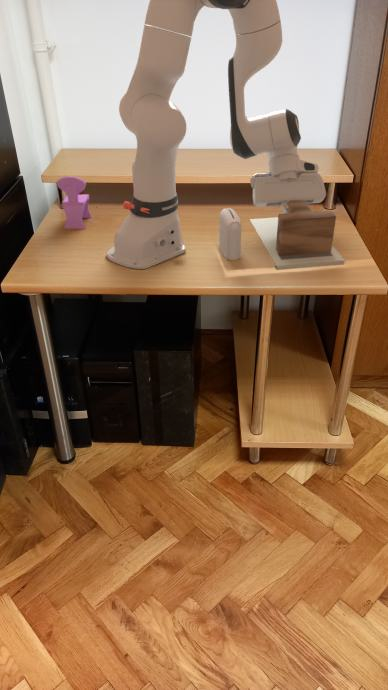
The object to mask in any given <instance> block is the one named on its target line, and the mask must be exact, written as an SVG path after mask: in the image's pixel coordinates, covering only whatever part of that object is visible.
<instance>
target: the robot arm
mask: <svg viewBox="0 0 388 690" xmlns="http://www.w3.org/2000/svg"><path fill="white" fill-rule="evenodd" d="M204 7H206V8H209V9H210V8H211V9H221V10H228V12H229V14H230V16H231V19H232V22H233V23H232V24H233V29H234V33H235V49H234V52H233V54H232V55H231V56H230V57H229V59H228V63H227V65H228V66H227V77H228V78H227V79H228V97H229V98H228V99H229V101H228V102H229V115H230V128H229V129H230V130H229V141H230V142H229V143H230V146H231V150H232V151H233V154H234V155H236V156H238V157H240V158H242V159H245V160H246V159H247V160H248V159H250V158H252V157H256V156H258V155H261V154H264V153H267V156H268V163H267V164H268V165H267V166H268V170H269V171H268V172H264V173H263V172H262V173H254V174H253V175H252V176H251V177H250V179H249V182H250V187H251V189H252V203H253V205H254V206H255V207H256V208H263V207H264V208H265V207H275V206H276V207H278V206H280V209H281V211H282V212H283V214H286V213H287V211H288V201H299V200H303V201H304V202H305V204H306V205H307V204H319V203H322V202H323V201H324V200H325V198H326V196H327V192H326V186H325V182H324V180H323V177H322V175H321V174H320V173H318V172H319V170H320V169H319V165H318V164H317V163H313V162H310V161H307V160H306V161H305V160H303V159H301V158H300V155H299V153H298V146H299V143H300V142H301V140H302V137H301V134H300V125H299V117H298V116H297V114H296V113H294V111H291V110H289V109H287V108H286V109H279V110H274V111H271V112H268V113H265V114H260V115H257V116H253V117H248V116H246V107H245V86H246V84H247V83H248V81H249V80H251V78H252V77H254V76H255V75H256V74H257V73H259V72H260V71H261V70H263V69H264V68H266V67H267V66H268V65H269V64H270V63H271V62H272V61H273V60H274V59H275V58H276V56H277V55H278V54H279V52H280V50H281V48H282V45H283V29H282V21H281V17H280V10H279V6H278V2H277V0H149V3H148V6H147V11H146V13H145V14H146V15H145V20H144V25H143V31H142V35H141V42H140V47H139V53H138V58H137V62H136V65H135V68H134V71H133V75H132V77H131V80H130V82H129V85H128V87H127V91H126V93H125V94H123V96H122V97H121V99H120V101H119V107H118V112H119V116H120V118H121V121H122V123H123V125H124V126H125V128H126V129H127V130H128V131H129V132H131V134H133V135H134V136H135V139H136V154H135V158H134V162H133V164H132V167H131V171H132V183H133V184H132V185H133V194H132V198H131V201H127V200H124V202H123V204H122V207H123V209H125V210H127V211H128V210H129V213H128V215H127V216H126V217H125V219H124V221H123V222H122V224H121V225H120V226H119V228H118V229H117V231H116V232H115V234H114V244H113V246H112V247H111V248H110V249H108V250H107V251H106V252H105V253H106V254H105V255H106V258H107V259H108V260H109V261H111V262H113V263H115V264H117V265H120V266H122V267H127V268H130V269H139V270H145V269H148V268H150V267H153V266H155V265H158V264H159V263H162V262H164V261H165V262H166V261H167V260H170V259H172V258H175V257H177V256H179V255H182V254H185V253H186V251H187V250H186V246H185V244H184V241H183V236H182V235H183V234H182V228H181V227H182V226H181V221H180V217H179V215H178V214H179V213H178V208H179V199H178V198H179V197H178V193H177V192H176V191H177V190H176V184H177V183H176V182H177V181H176V164H177V163H176V162H177V158H178V153H179V152H178V151H179V149H180V148H179V147H180V145H181V143H182V142H183V140H184V139H185V136H186V133H187V122H186V118H185V116H184V114H182V112H181V110H180V109H179V108H178V106H176V105H175V104H174V103H173V102H172V101H170V98H171V96H172V92H174V88H175V86H176V85H177V83H178V80H180V79H181V77H182V76H183V75H184V72H185V70H186V69H185V68H186V65H187V59H188V56H189V51H190V47H191V42H192V37H193V32H194V25H195V21H196V19H197V16H198V14H199V13H200V11H201V10H202V9H203V8H204Z"/></svg>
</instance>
